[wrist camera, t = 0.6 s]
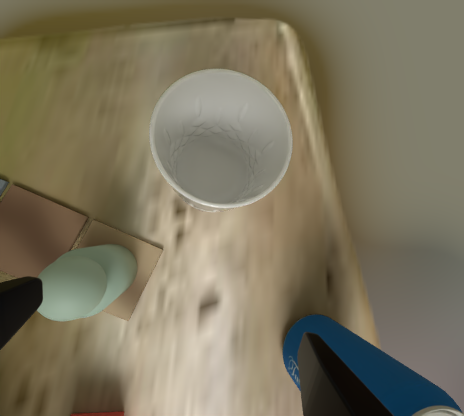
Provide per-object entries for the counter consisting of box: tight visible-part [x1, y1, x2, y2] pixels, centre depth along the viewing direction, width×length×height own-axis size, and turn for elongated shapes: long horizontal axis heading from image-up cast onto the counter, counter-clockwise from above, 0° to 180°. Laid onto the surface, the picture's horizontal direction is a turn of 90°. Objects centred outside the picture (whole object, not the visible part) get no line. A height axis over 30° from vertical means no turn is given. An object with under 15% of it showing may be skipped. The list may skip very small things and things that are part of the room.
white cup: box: [149, 69, 293, 212], centre depth 17 cm, size 8×8×10 cm
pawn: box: [37, 244, 137, 321], centre depth 16 cm, size 4×4×8 cm
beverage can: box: [283, 314, 464, 416], centre depth 16 cm, size 6×6×12 cm
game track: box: [0, 179, 163, 321], centre depth 19 cm, size 6×20×1 cm, turn 66°
